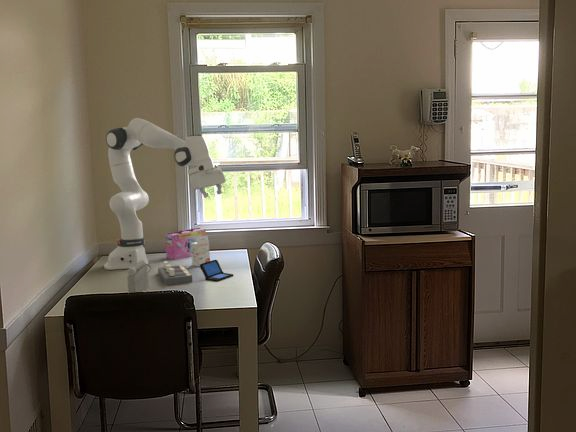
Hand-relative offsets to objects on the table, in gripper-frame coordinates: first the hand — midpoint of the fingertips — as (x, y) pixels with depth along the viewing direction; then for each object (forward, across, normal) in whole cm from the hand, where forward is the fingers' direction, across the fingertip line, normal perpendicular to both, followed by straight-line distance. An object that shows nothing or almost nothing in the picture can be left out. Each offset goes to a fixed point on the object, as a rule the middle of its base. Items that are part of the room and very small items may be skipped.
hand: (213, 195), depth 279 cm
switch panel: (+32, +16, -25) cm, 43 cm away
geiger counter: (+33, +46, -15) cm, 59 cm away
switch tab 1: (+27, +13, -32) cm, 43 cm away
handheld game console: (+38, +6, -7) cm, 39 cm away
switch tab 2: (+28, +17, -25) cm, 42 cm away
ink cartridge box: (+31, -12, -33) cm, 47 cm away
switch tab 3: (+30, +22, -19) cm, 42 cm away
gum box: (+26, -25, -55) cm, 65 cm away
